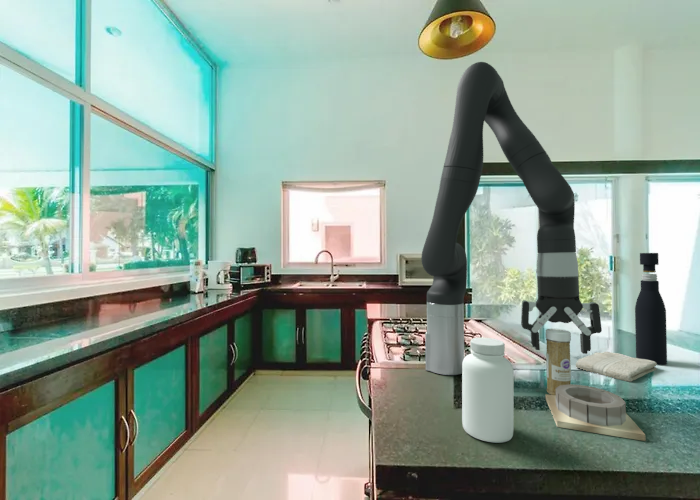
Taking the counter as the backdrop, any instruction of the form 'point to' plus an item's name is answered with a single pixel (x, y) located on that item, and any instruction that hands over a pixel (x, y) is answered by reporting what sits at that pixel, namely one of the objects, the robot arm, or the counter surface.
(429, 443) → the counter surface
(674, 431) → the counter surface
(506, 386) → the pill bottle
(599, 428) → the collar
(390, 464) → the counter surface
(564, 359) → the sprinkles bottle
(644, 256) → the black bottle
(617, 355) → the washcloth
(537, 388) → the counter surface
